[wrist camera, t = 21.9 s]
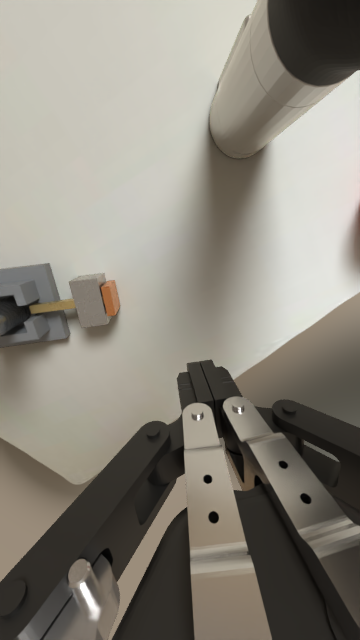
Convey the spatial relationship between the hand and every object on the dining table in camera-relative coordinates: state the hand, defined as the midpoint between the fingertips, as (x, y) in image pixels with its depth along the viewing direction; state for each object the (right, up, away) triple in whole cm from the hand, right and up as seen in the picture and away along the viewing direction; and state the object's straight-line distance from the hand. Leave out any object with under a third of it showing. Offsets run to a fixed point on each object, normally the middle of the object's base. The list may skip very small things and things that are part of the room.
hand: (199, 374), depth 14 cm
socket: (-27, +6, +24) cm, 36 cm away
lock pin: (-18, +7, +24) cm, 30 cm away
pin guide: (-15, +7, +24) cm, 30 cm away
